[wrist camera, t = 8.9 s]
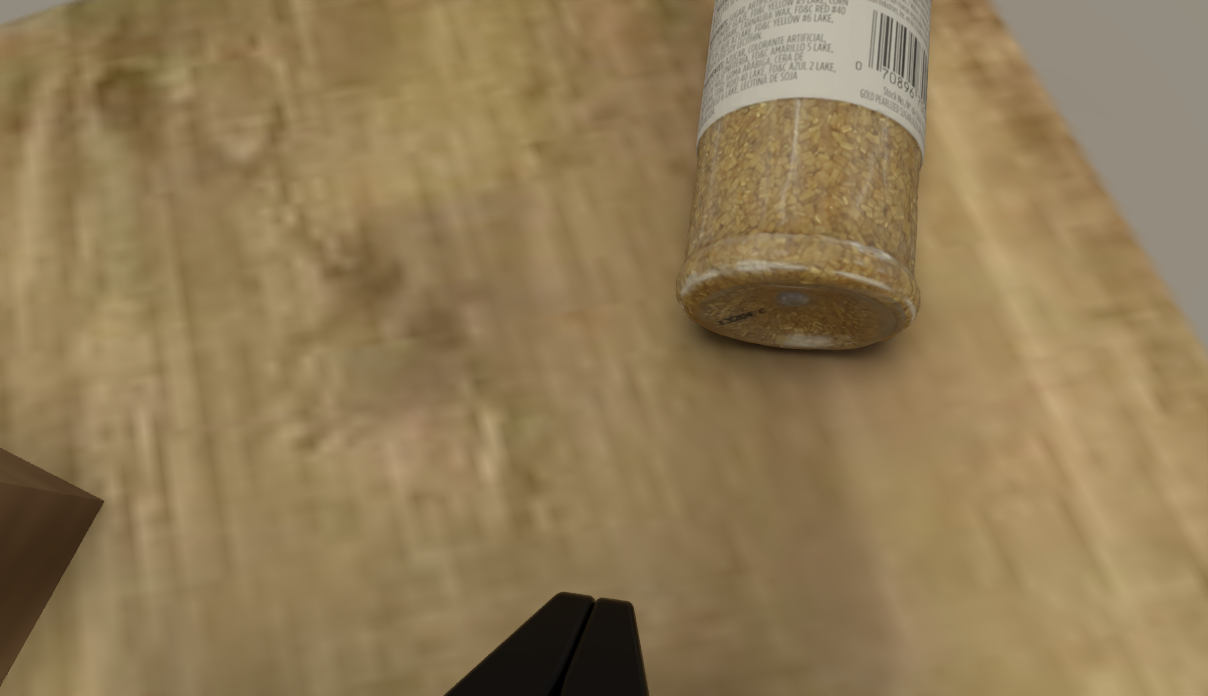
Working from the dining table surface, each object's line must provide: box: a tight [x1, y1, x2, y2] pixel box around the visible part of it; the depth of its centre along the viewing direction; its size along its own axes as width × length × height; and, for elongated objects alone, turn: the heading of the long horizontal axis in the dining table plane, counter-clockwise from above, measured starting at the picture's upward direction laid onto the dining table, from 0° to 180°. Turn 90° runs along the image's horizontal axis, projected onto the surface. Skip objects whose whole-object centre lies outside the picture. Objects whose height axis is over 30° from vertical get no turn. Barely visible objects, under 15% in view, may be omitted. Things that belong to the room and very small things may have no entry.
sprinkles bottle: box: [676, 0, 931, 350], centre depth 18 cm, size 5×5×13 cm
